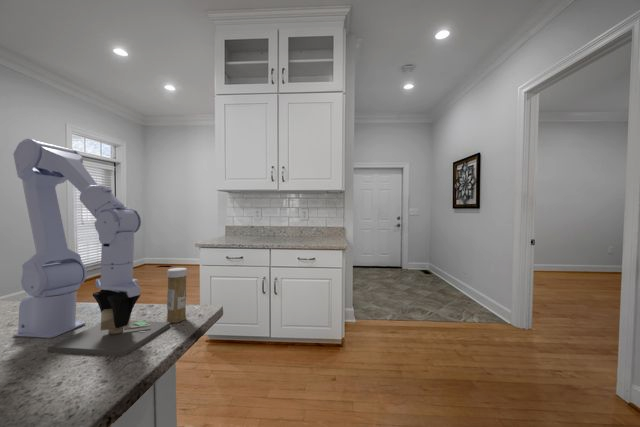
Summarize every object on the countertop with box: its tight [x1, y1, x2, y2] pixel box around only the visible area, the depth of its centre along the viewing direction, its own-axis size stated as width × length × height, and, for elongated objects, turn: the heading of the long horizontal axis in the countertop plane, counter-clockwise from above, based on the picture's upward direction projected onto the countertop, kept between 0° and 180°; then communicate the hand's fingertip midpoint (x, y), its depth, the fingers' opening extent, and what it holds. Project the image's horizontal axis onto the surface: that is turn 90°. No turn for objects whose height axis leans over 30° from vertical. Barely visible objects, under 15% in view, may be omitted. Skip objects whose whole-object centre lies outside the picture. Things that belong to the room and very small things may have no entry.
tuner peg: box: [100, 309, 150, 334], centre depth 59 cm, size 9×3×5 cm, turn 114°
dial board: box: [47, 320, 171, 357], centre depth 59 cm, size 16×14×1 cm
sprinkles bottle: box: [166, 267, 188, 324], centre depth 69 cm, size 5×5×13 cm
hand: (115, 324), depth 59 cm, fingers closed on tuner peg, 4 cm apart
